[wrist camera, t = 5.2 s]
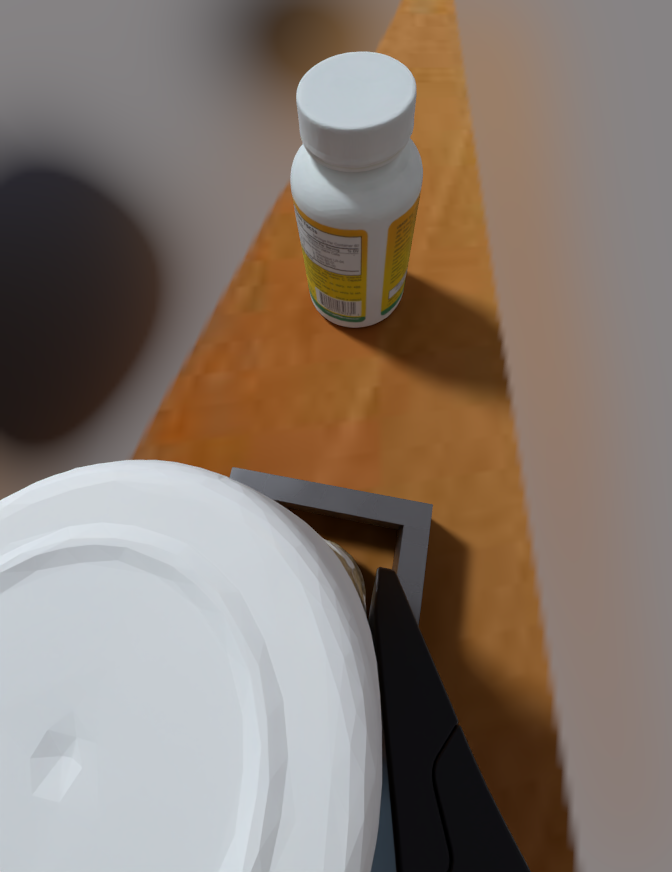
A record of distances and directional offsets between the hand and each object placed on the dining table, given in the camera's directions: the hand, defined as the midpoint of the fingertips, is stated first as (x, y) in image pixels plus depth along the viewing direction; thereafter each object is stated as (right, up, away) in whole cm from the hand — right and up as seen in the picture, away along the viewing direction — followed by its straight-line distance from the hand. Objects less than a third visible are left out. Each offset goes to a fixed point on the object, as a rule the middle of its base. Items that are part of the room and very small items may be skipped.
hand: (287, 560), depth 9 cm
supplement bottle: (+2, +11, +12) cm, 17 cm away
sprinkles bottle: (0, -4, +6) cm, 7 cm away
